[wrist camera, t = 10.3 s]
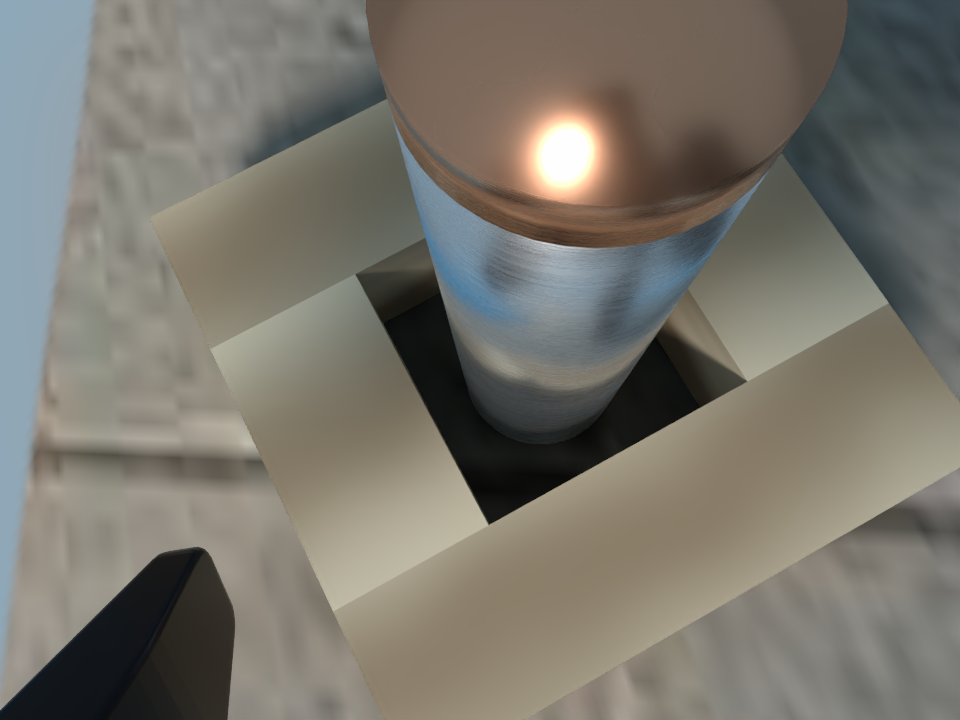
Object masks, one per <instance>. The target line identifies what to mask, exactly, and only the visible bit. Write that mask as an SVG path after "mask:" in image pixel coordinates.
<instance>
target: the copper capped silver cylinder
mask: <svg viewBox="0 0 960 720" xmlns="http://www.w3.org/2000/svg"><path fill="white" fill-rule="evenodd" d="M847 13H848V0H366V14H367V20H368V26H369V33H370V39H371V43H372V46H373V50H374V53H375V57H376V61H377V64H378V68H379V71H380V75H381V79H382V82H383V86H384V89H385V93H386V97H387V100H388V104H389V107H390V111H391V115H392V118H393V122H394V126H395V129H396V133H397V136H398V140H399V144H400V147H401V151H402V154H403V158H404V162H405V165H406V169H407V172H408V176H409V180H410V183H411V187H412V190H413V194H414V198H415V201H416V205H417V208H418V212H419V216H420V219H421V223H422V227H423V230H424V234H425V237H426V241H427V245H428V248H429V252H430V255H431V259H432V263H433V266H434V270H435V273H436V277H437V281H438V284H439V288H440V291H441V295H442V299H443V302H444V306H445V310H446V313H447V317H448V320H449V324H450V328H451V331H452V335H453V338H454V342H455V346H456V349H457V353H458V356H459V360H460V364H461V367H462V371H463V374H464V378H465V382H466V385H467V389H468V392H469V395H470V398H471V400H472V402H473V404H474V406H475V408H476V409H477V411H478V412H479V414H480V415H481V416H482V417H483V418H484V420H485V421H486V422H487V423H488V424H490V425H491V426H492V427H493V428H494V429H496V430H497V431H499V432H500V433H501V434H503V435H505V436H507V437H509V438H512V439H514V440H517V441H520V442H525V443H529V444H552V443H558V442H562V441H565V440H568V439H571V438H573V437H575V436H577V435H579V434H580V433H582V432H584V431H585V430H587V429H588V428H589V427H590V426H591V425H592V424H594V423H595V422H596V420H597V419H598V418H599V417H600V416H601V415H602V413H603V412H604V410H605V409H606V407H607V406H608V404H609V403H610V401H611V400H612V399H613V397H614V396H615V394H616V393H617V391H618V390H619V388H620V387H621V385H622V384H623V383H624V381H625V380H626V378H627V377H628V375H629V374H630V372H631V371H632V369H633V368H634V366H635V365H636V364H637V362H638V361H639V359H640V358H641V356H642V355H643V353H644V352H645V350H646V349H647V348H648V346H649V345H650V343H651V342H652V340H653V339H654V337H655V336H656V334H657V333H658V332H659V330H660V329H661V327H662V326H663V324H664V323H665V321H666V320H667V318H668V317H669V316H670V314H671V313H672V311H673V310H674V308H675V307H676V305H677V304H678V302H679V301H680V299H681V298H682V297H683V295H684V294H685V292H686V291H687V289H688V288H689V286H690V285H691V283H692V282H693V281H694V279H695V278H696V276H697V275H698V273H699V272H700V270H701V269H702V267H703V266H704V265H705V263H706V262H707V260H708V259H709V257H710V256H711V254H712V253H713V251H714V250H715V249H716V247H717V246H718V244H719V243H720V241H721V240H722V238H723V237H724V235H725V234H726V232H727V231H728V230H729V228H730V227H731V225H732V224H733V222H734V221H735V219H736V218H737V216H738V215H739V214H740V212H741V211H742V209H743V208H744V206H745V205H746V203H747V202H748V200H749V199H750V198H751V196H752V195H753V193H754V192H755V190H756V189H757V187H758V186H759V184H760V183H761V182H762V180H763V179H764V177H765V176H766V174H767V173H768V171H769V170H770V168H771V167H772V165H773V164H774V163H775V161H776V160H777V158H778V157H779V155H780V154H781V152H782V151H783V149H784V148H785V147H786V145H787V144H788V142H789V141H790V139H791V138H792V136H793V135H794V133H795V132H796V131H797V129H798V128H799V126H800V125H801V123H802V122H803V120H804V119H805V117H806V116H807V115H808V113H809V112H810V110H811V109H812V107H813V106H814V104H815V103H816V101H817V100H818V98H819V97H820V95H821V94H822V92H823V91H824V89H825V87H826V85H827V83H828V81H829V78H830V76H831V74H832V72H833V70H834V68H835V66H836V63H837V60H838V56H839V53H840V50H841V47H842V43H843V40H844V35H845V28H846V20H847Z"/></svg>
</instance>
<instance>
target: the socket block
mask: <svg viewBox="0 0 960 720" xmlns="http://www.w3.org/2000/svg"><path fill="white" fill-rule="evenodd" d="M149 219H150V221H151V223H152V225H153V227H154V230H155V232H156V234H157V236H158V238H159V240H160V242H161V245H162V247H163V249H164V251H165V253H166V255H167V257H168V260H169V262H170V264H171V266H172V268H173V270H174V272H175V274H176V277H177V279H178V281H179V283H180V285H181V287H182V289H183V292H184V294H185V296H186V298H187V300H188V302H189V304H190V307H191V309H192V311H193V313H194V315H195V317H196V319H197V321H198V324H199V326H200V328H201V330H202V332H203V334H204V336H205V339H206V341H207V343H208V345H209V347H210V349H211V351H212V354H213V356H214V358H215V360H216V362H217V364H218V366H219V368H220V371H221V373H222V375H223V377H224V379H225V381H226V383H227V386H228V388H229V390H230V392H231V394H232V396H233V398H234V401H235V403H236V405H237V407H238V409H239V411H240V413H241V415H242V418H243V420H244V422H245V424H246V426H247V428H248V430H249V433H250V435H251V437H252V439H253V441H254V443H255V445H256V448H257V450H258V452H259V454H260V456H261V458H262V460H263V462H264V465H265V467H266V469H267V471H268V473H269V475H270V477H271V480H272V482H273V484H274V486H275V488H276V490H277V492H278V495H279V497H280V499H281V501H282V503H283V505H284V507H285V510H286V512H287V514H288V516H289V518H290V520H291V522H292V524H293V527H294V529H295V531H296V533H297V535H298V537H299V539H300V542H301V544H302V546H303V548H304V550H305V552H306V554H307V557H308V559H309V561H310V563H311V565H312V567H313V569H314V571H315V574H316V576H317V578H318V580H319V582H320V584H321V586H322V589H323V591H324V593H325V595H326V597H327V599H328V601H329V604H330V606H331V608H332V610H333V612H334V614H335V616H336V618H337V621H338V623H339V625H340V627H341V629H342V631H343V633H344V636H345V638H346V640H347V642H348V644H349V646H350V648H351V651H352V653H353V655H354V657H355V659H356V661H357V663H358V665H359V668H360V670H361V672H362V674H363V676H364V678H365V680H366V683H367V685H368V687H369V689H370V691H371V693H372V695H373V698H374V700H375V702H376V704H377V706H378V708H379V710H380V713H381V715H382V717H383V719H384V720H525V719H527V718H528V717H530V716H532V715H534V714H535V713H537V712H539V711H540V710H542V709H544V708H546V707H547V706H549V705H551V704H552V703H554V702H556V701H558V700H559V699H561V698H563V697H565V696H566V695H568V694H570V693H571V692H573V691H575V690H577V689H578V688H580V687H582V686H584V685H585V684H587V683H589V682H590V681H592V680H594V679H596V678H597V677H599V676H601V675H603V674H604V673H606V672H608V671H609V670H611V669H613V668H615V667H616V666H618V665H620V664H621V663H623V662H625V661H627V660H628V659H630V658H632V657H634V656H635V655H637V654H639V653H640V652H642V651H644V650H646V649H647V648H649V647H651V646H653V645H654V644H656V643H658V642H659V641H661V640H663V639H665V638H666V637H668V636H670V635H672V634H673V633H675V632H677V631H678V630H680V629H682V628H684V627H685V626H687V625H689V624H690V623H692V622H694V621H696V620H697V619H699V618H701V617H703V616H704V615H706V614H708V613H709V612H711V611H713V610H715V609H716V608H718V607H720V606H722V605H723V604H725V603H727V602H728V601H730V600H732V599H734V598H735V597H737V596H739V595H741V594H742V593H744V592H746V591H747V590H749V589H751V588H753V587H754V586H756V585H758V584H759V583H761V582H763V581H765V580H766V579H768V578H770V577H772V576H773V575H775V574H777V573H778V572H780V571H782V570H784V569H785V568H787V567H789V566H791V565H792V564H794V563H796V562H797V561H799V560H801V559H803V558H804V557H806V556H808V555H810V554H811V553H813V552H815V551H816V550H818V549H820V548H822V547H823V546H825V545H827V544H829V543H830V542H832V541H834V540H835V539H837V538H839V537H841V536H842V535H844V534H846V533H847V532H849V531H851V530H853V529H854V528H856V527H858V526H860V525H861V524H863V523H865V522H866V521H868V520H870V519H872V518H873V517H875V516H877V515H879V514H880V513H882V512H884V511H885V510H887V509H889V508H891V507H892V506H894V505H896V504H898V503H899V502H901V501H903V500H904V499H906V498H908V497H910V496H911V495H913V494H915V493H916V492H918V491H920V490H922V489H923V488H925V487H927V486H929V485H930V484H932V483H934V482H935V481H937V480H939V479H941V478H942V477H944V476H946V475H948V474H949V473H951V472H953V471H954V470H956V469H958V468H960V402H959V401H958V399H957V398H956V396H955V395H954V394H953V392H952V391H951V389H950V388H949V387H948V385H947V384H946V382H945V381H944V380H943V378H942V377H941V375H940V374H939V373H938V371H937V370H936V368H935V367H934V366H933V364H932V363H931V361H930V360H929V359H928V357H927V356H926V354H925V353H924V352H923V350H922V349H921V347H920V346H919V345H918V343H917V342H916V340H915V339H914V338H913V336H912V335H911V333H910V332H909V331H908V329H907V328H906V326H905V325H904V324H903V322H902V321H901V319H900V318H899V316H898V315H897V314H896V312H895V311H894V309H893V308H892V307H891V305H890V304H889V302H888V301H887V300H886V298H885V297H884V295H883V294H882V293H881V291H880V290H879V288H878V287H877V286H876V284H875V283H874V281H873V280H872V279H871V277H870V276H869V274H868V273H867V272H866V270H865V269H864V267H863V266H862V265H861V263H860V262H859V260H858V259H857V258H856V256H855V255H854V253H853V252H852V251H851V249H850V248H849V246H848V245H847V244H846V242H845V241H844V239H843V238H842V237H841V235H840V234H839V232H838V231H837V230H836V228H835V227H834V225H833V224H832V223H831V221H830V220H829V218H828V217H827V215H826V214H825V213H824V211H823V210H822V208H821V207H820V206H819V204H818V203H817V201H816V200H815V199H814V197H813V196H812V194H811V193H810V192H809V190H808V189H807V187H806V186H805V185H804V183H803V182H802V180H801V179H800V178H799V176H798V175H797V173H796V172H795V171H794V169H793V168H792V166H791V165H790V164H789V162H788V161H787V159H786V158H785V157H784V155H783V154H782V152H781V154H780V155H779V157H778V158H777V160H776V161H775V163H774V164H773V165H772V167H771V168H770V170H769V171H768V173H767V174H766V176H765V177H764V179H763V180H762V182H761V183H760V184H759V186H758V187H757V189H756V190H755V192H754V193H753V195H752V196H751V198H750V199H749V200H748V202H747V203H746V205H745V206H744V208H743V209H742V211H741V212H740V214H739V215H738V216H737V218H736V219H735V221H734V222H733V224H732V225H731V227H730V228H729V230H728V231H727V232H726V234H725V235H724V237H723V238H722V240H721V241H720V243H719V244H718V246H717V247H716V249H715V250H714V251H713V253H712V254H711V256H710V257H709V259H708V260H707V262H706V263H705V265H704V266H703V267H702V269H701V270H700V272H699V273H698V275H697V276H696V278H695V279H694V281H693V282H692V283H691V285H690V286H689V288H688V289H687V291H686V292H685V294H684V295H683V297H682V298H681V299H680V301H679V302H678V304H677V305H676V307H675V308H674V310H673V311H672V313H671V314H670V316H669V317H668V318H667V320H666V321H665V323H664V324H663V326H662V327H661V329H660V330H659V332H658V333H657V334H656V338H657V339H658V341H659V343H660V344H661V346H662V347H663V349H664V351H665V352H666V354H667V355H668V357H669V359H670V360H671V362H672V364H673V365H674V367H675V368H676V370H677V372H678V373H679V375H680V376H681V378H682V380H683V381H684V383H685V384H686V386H687V388H688V389H689V391H690V392H691V394H692V396H693V397H694V399H695V400H696V402H697V404H698V405H699V407H700V408H699V409H697V410H695V411H694V412H692V413H690V414H688V415H686V416H685V417H683V418H681V419H679V420H677V421H676V422H674V423H672V424H670V425H668V426H667V427H665V428H663V429H661V430H659V431H658V432H656V433H654V434H652V435H650V436H649V437H647V438H645V439H643V440H641V441H639V442H638V443H636V444H634V445H632V446H630V447H629V448H627V449H625V450H623V451H621V452H620V453H618V454H616V455H614V456H612V457H611V458H609V459H607V460H605V461H603V462H602V463H600V464H598V465H596V466H594V467H593V468H591V469H589V470H587V471H585V472H584V473H582V474H580V475H578V476H576V477H575V478H573V479H571V480H569V481H567V482H566V483H564V484H562V485H560V486H558V487H557V488H555V489H553V490H551V491H549V492H548V493H546V494H544V495H542V496H540V497H539V498H537V499H535V500H533V501H531V502H530V503H528V504H526V505H524V506H522V507H521V508H519V509H517V510H515V511H513V512H512V513H510V514H508V515H506V516H504V517H503V518H501V519H499V520H497V521H495V522H494V523H492V524H490V523H489V521H488V519H487V517H486V515H485V513H484V511H483V510H482V508H481V506H480V504H479V502H478V500H477V498H476V496H475V495H474V493H473V491H472V489H471V487H470V485H469V483H468V481H467V480H466V478H465V476H464V474H463V472H462V470H461V468H460V466H459V464H458V463H457V461H456V459H455V457H454V455H453V453H452V451H451V449H450V448H449V446H448V444H447V442H446V440H445V438H444V436H443V434H442V433H441V431H440V429H439V427H438V425H437V423H436V421H435V419H434V418H433V416H432V414H431V412H430V410H429V408H428V406H427V404H426V402H425V401H424V399H423V397H422V395H421V393H420V391H419V389H418V387H417V386H416V384H415V382H414V380H413V378H412V376H411V374H410V372H409V371H408V369H407V367H406V365H405V363H404V361H403V359H402V357H401V356H400V354H399V352H398V350H397V348H396V346H395V344H394V342H393V340H392V339H391V337H390V335H389V333H388V331H387V329H386V327H385V325H384V324H383V323H385V322H386V321H388V320H390V319H392V318H394V317H396V316H398V315H400V314H402V313H404V312H405V311H407V310H409V309H411V308H413V307H415V306H417V305H419V304H421V303H423V302H425V301H426V300H428V299H430V298H432V297H434V296H436V295H438V294H440V293H441V291H440V288H439V284H438V281H437V277H436V273H435V270H434V266H433V263H432V259H431V255H430V252H429V248H428V245H427V241H426V237H425V234H424V230H423V227H422V223H421V219H420V216H419V212H418V208H417V205H416V201H415V198H414V194H413V190H412V187H411V183H410V180H409V176H408V172H407V169H406V165H405V162H404V158H403V154H402V151H401V147H400V144H399V140H398V136H397V133H396V129H395V126H394V122H393V118H392V115H391V111H390V107H389V104H388V100H387V99H386V100H384V101H382V102H380V103H377V104H375V105H373V106H371V107H369V108H367V109H365V110H363V111H361V112H359V113H357V114H355V115H353V116H351V117H349V118H347V119H345V120H343V121H341V122H339V123H337V124H335V125H333V126H331V127H329V128H327V129H325V130H323V131H321V132H319V133H317V134H315V135H313V136H311V137H309V138H307V139H305V140H303V141H301V142H299V143H297V144H295V145H293V146H291V147H289V148H287V149H285V150H283V151H281V152H279V153H277V154H275V155H273V156H271V157H269V158H267V159H265V160H263V161H261V162H259V163H257V164H255V165H253V166H251V167H249V168H247V169H245V170H243V171H241V172H239V173H237V174H235V175H233V176H231V177H229V178H227V179H225V180H223V181H221V182H219V183H217V184H215V185H213V186H211V187H209V188H207V189H205V190H203V191H201V192H199V193H197V194H195V195H193V196H191V197H189V198H187V199H185V200H183V201H181V202H179V203H177V204H175V205H173V206H171V207H169V208H167V209H165V210H163V211H161V212H159V213H157V214H155V215H153V216H151V217H149Z"/></svg>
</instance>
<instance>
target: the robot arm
mask: <svg viewBox="0 0 960 720" xmlns="http://www.w3.org/2000/svg"><path fill="white" fill-rule="evenodd" d="M234 636H235V617H234V610H233V606H232V604H231V601H230V599H229V596H228V594H227V592H226V590H225V587H224V585H223V583H222V581H221V578H220V576H219V574H218V572H217V569H216V567H215V565H214V563H213V560H212V558H211V556H210V555H209V553H208V552H207V551H206V550H205V549H203V548H200V547H193V548H186V549H180V550H174V551H168V552H164V553H161V554H159V555H158V556H156V557H155V558H154V559H153V560H152V561H151V562H150V563H149V564H148V565H147V566H146V567H145V568H144V569H143V570H142V571H141V572H140V573H139V574H138V575H137V576H136V577H135V578H134V579H133V580H132V581H131V582H130V583H129V584H128V585H127V586H126V587H124V588H123V589H122V590H121V591H120V592H119V593H118V594H117V595H116V596H115V597H114V598H113V599H112V600H111V601H110V602H109V603H108V604H107V605H106V606H105V607H104V608H103V609H102V610H101V611H100V612H99V613H98V614H97V615H96V616H95V617H94V618H93V619H92V620H91V621H90V622H89V623H88V624H87V625H86V626H85V627H84V628H83V629H82V630H81V631H80V632H79V633H78V634H77V635H76V636H75V637H74V638H73V639H72V640H71V641H70V642H69V643H68V644H67V645H66V646H65V647H64V648H63V649H62V650H61V651H60V652H59V653H58V654H57V655H56V656H55V657H54V658H53V659H52V660H51V661H50V662H49V663H48V664H47V665H46V666H45V667H44V668H43V669H42V670H41V671H40V672H39V673H38V674H36V675H35V676H34V677H33V678H32V679H31V680H30V681H29V682H28V683H27V684H26V685H25V686H24V687H23V688H22V689H21V690H20V691H19V692H18V693H17V694H16V695H15V696H14V697H13V698H12V699H11V700H10V701H9V702H8V703H7V704H6V705H5V706H4V707H3V708H2V709H1V710H0V720H227V718H228V706H229V695H230V683H231V671H232V659H233V648H234Z"/></svg>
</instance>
